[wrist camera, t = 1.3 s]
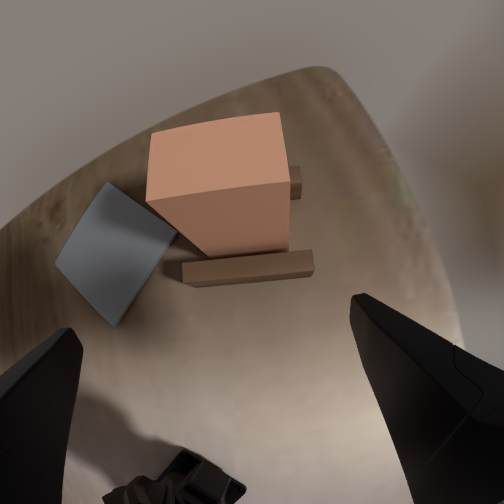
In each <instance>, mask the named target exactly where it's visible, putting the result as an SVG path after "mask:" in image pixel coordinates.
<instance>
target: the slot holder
mask: <svg viewBox="0 0 504 504" xmlns="http://www.w3.org/2000/svg"><path fill="white" fill-rule="evenodd" d="M288 169H289V176H290V200H295V199H301V190H302V178H301V172H300V167H299V166H295V167H288ZM314 270H315V269H314V261H313V253H312V250H303V251H293V252H284V253H274V254H264V255H255V256H245V257H235V258H226V259H216V260H206V261H196V262H186V263H182V274H183V283H185V284H187V285H190V286H193V287H195V288H197V287H209V286H221V285H232V284H244V283H254V282H265V281H275V280H285V279H294V278H304V277H311V276H312V274H313V272H314Z"/></svg>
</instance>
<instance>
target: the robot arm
mask: <svg viewBox="0 0 504 504" xmlns="http://www.w3.org/2000/svg"><path fill="white" fill-rule="evenodd" d="M350 324H351V328H352V331H353V334H354V338H355V341H356V344H357V348H358V351H359V355H360V358H361V361H362V365H363V367H364V370H365V373H366V375H367V377H368V380H369V382H370V385H371V387H372V389H373V392H374V394H375V397H376V399H377V402H378V404H379V407H380V409H381V412H382V414H383V417H384V420H385V422H386V425H387V427H388V430H389V433H390V435H391V438H392V441H393V443H394V446H395V449H396V451H397V454H398V457H399V460H400V463H401V465H402V468H403V471H404V474H405V477H406V480H407V483H408V486H409V489H410V492H411V496H412V499H413V502H414V504H504V371H503V370H501V369H499V368H497V367H495V366H493V365H491V364H489V363H487V362H485V361H483V360H481V359H479V358H477V357H475V356H473V355H472V354H470V353H468V352H466V351H465V350H463V349H461V348H460V347H458V346H456V345H453V344H452V343H451V342H449V341H448V340H446V339H444V338H442V337H441V336H439V335H437V334H436V333H434V332H432V331H431V330H429V329H427V328H425V327H424V326H422V325H420V324H419V323H417V322H415V321H413V320H412V319H410V318H408V317H406V316H405V315H403V314H401V313H399V312H398V311H396V310H394V309H392V308H391V307H389V306H387V305H386V304H384V303H382V302H380V301H378V300H377V299H375V298H373V297H371V296H370V295H368V294H366V293H362V294H356V295H353V296H352V298H351V306H350ZM82 358H83V346H82V344H81V342H80V341H79V339H78V337H77V335H76V334H75V332H74V330H73V329H72V328H61V329H59V330H58V331H57V332H55V333H54V334H53V335H51V336H50V337H49V338H47V339H46V340H45V341H44V342H42V343H41V344H40V345H38V346H37V347H36V348H34V349H33V350H32V351H31V352H29V353H28V354H27V355H25V356H24V357H23V358H22V359H20V360H19V361H18V362H17V363H15V364H14V365H13V366H12V367H10V368H9V369H8V370H7V371H5V372H4V373H3V374H2V375H0V504H62V486H63V475H64V466H65V458H66V451H67V444H68V437H69V431H70V426H71V420H72V415H73V410H74V405H75V400H76V396H77V391H78V385H79V377H80V370H81V364H82ZM183 454H186V455H187V456H188V457H186V456H184V455H183ZM239 488H240V489H242V490H241V491H240V490H238V489H239ZM246 490H247V488H246V486H245V485H243V484H241V483H239V482H238V481H236V480H234V479H232V478H231V477H230V476H229V475H227V474H226V473H224V472H222V471H221V470H219V469H218V468H216V467H214V466H213V465H211V464H210V463H208V462H207V461H203V460H202V459H200V458H199V457H197V456H196V455H194V454H193V453H192V452H190V451H188V450H185V449H184V450H182V451H181V452H180V453H179V454H178V455H177V457H176V458H175V459H174V460H173V461H172V462H171V464H170V465H169V466H168V467H167V468H166V470H165V471H164V472H163V473H162V474H161V475H160V476H159V478H158V479H157V480H156V481H155V480H151V479H149V478H147V477H146V476H144V475H143V476H137V477H136V478H135V479H133V480H132V481H131V482H130V483H129V484H128V485H127V486H121V487H119V488H115V489H113V490H112V492H110V493H108V494H106V495H104V496H103V497H102V499H103V501H104V504H234V503H235V502H236V501H237V500H239V499H240V498H241V497H242V496H243V495H244V494H245V493H246Z"/></svg>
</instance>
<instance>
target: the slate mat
mask: <svg viewBox="0 0 504 504" xmlns="http://www.w3.org/2000/svg"><path fill="white" fill-rule="evenodd" d="M178 233H179V232H178V231H177V230H175V229H174V228H172V227H171V226H169V225H168V224H167V223H165V222H164V221H162V220H161V219H159V218H158V217H157V216H155V215H154V214H152V213H151V212H149V211H148V210H147V209H145V208H144V207H142V206H141V205H140V204H138V203H137V202H135V201H134V200H133V199H131V198H130V197H128V196H127V195H126V194H124V193H123V192H121V191H120V190H119V189H117V188H116V187H114V186H113V185H112V184H110V183H109V182H108V181H107V182H106V183H105V184H104V186H103V187H102V189H101V190H100V191H99V193H98V194H97V196H96V197H95V198H94V200H93V201H92V203H91V204H90V206H89V207H88V209H87V210H86V212H85V213H84V215H83V216H82V218H81V219H80V221H79V223H78V224H77V226H76V227H75V229H74V231H73V232H72V234H71V235H70V237H69V239H68V240H67V242H66V244H65V245H64V247H63V249H62V251H61V252H60V254H59V256H58V258H57V259H56V261H55V263H54V264H55V265H56V266H57V267H58V269H59V270H60V271H61V272H62V273H63V275H64V276H65V277H66V278H67V279H68V280H69V281H70V283H71V284H72V285H73V286H74V287H75V288H76V289H77V290H78V292H79V293H80V294H81V295H82V296H83V297H84V298H85V299H86V300H87V301H88V302H89V303H90V304H91V305H92V306H93V308H94V309H95V310H96V311H97V312H98V313H99V314H100V315H101V316H102V317H103V318H104V319H105V320H106V321H107V322H108V323H109V324H110V325H111V326H112V327H113V328H117V326H118V324H119V323H120V321H121V319H122V318H123V316H124V315H125V313H126V311H127V310H128V308H129V307H130V305H131V303H132V302H133V300H134V299H135V297H136V295H137V294H138V292H139V291H140V289H141V288H142V286H143V285H144V283H145V282H146V280H147V279H148V277H149V276H150V274H151V273H152V271H153V270H154V268H155V267H156V265H157V264H158V262H159V261H160V259H161V258H162V256H163V255H164V253H165V252H166V250H167V249H168V247H169V246H170V245H171V243H172V242H173V240H174V239H175V237H176V236H177V235H178Z"/></svg>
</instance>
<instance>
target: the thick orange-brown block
mask: <svg viewBox="0 0 504 504" xmlns="http://www.w3.org/2000/svg"><path fill="white" fill-rule="evenodd" d="M146 202H147V203H148V204H149V205H150V206H151V207H152V208H154V209H155V210H156V211H157V212H158V213H159V214H160V215H161V216H163V217H164V218H165V219H166V220H167V221H168V222H169V223H170V224H172V225H173V226H174V227H175V228H176V229H177V230H178V231H180V232H181V233H182V234H183V235H184V236H185V237H186V238H188V239H189V240H190V241H191V242H192V243H193V244H195V245H196V246H197V247H198V248H199V249H200V250H202V251H203V252H204V253H205V254H206V255H207V256H208V257H210V258H211V259H212V260H216V259H226V258H235V257H245V256H255V255H264V254H274V253H284V252H288V251H289V221H290V176H289V169H288V163H287V156H286V150H285V144H284V138H283V132H282V126H281V121H280V115H279V112H274V113H265V114H256V115H248V116H241V117H234V118H227V119H221V120H215V121H209V122H204V123H198V124H193V125H188V126H183V127H178V128H174V129H169V130H165V131H160V132H156V133H152V135H151V144H150V153H149V164H148V175H147V189H146Z"/></svg>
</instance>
